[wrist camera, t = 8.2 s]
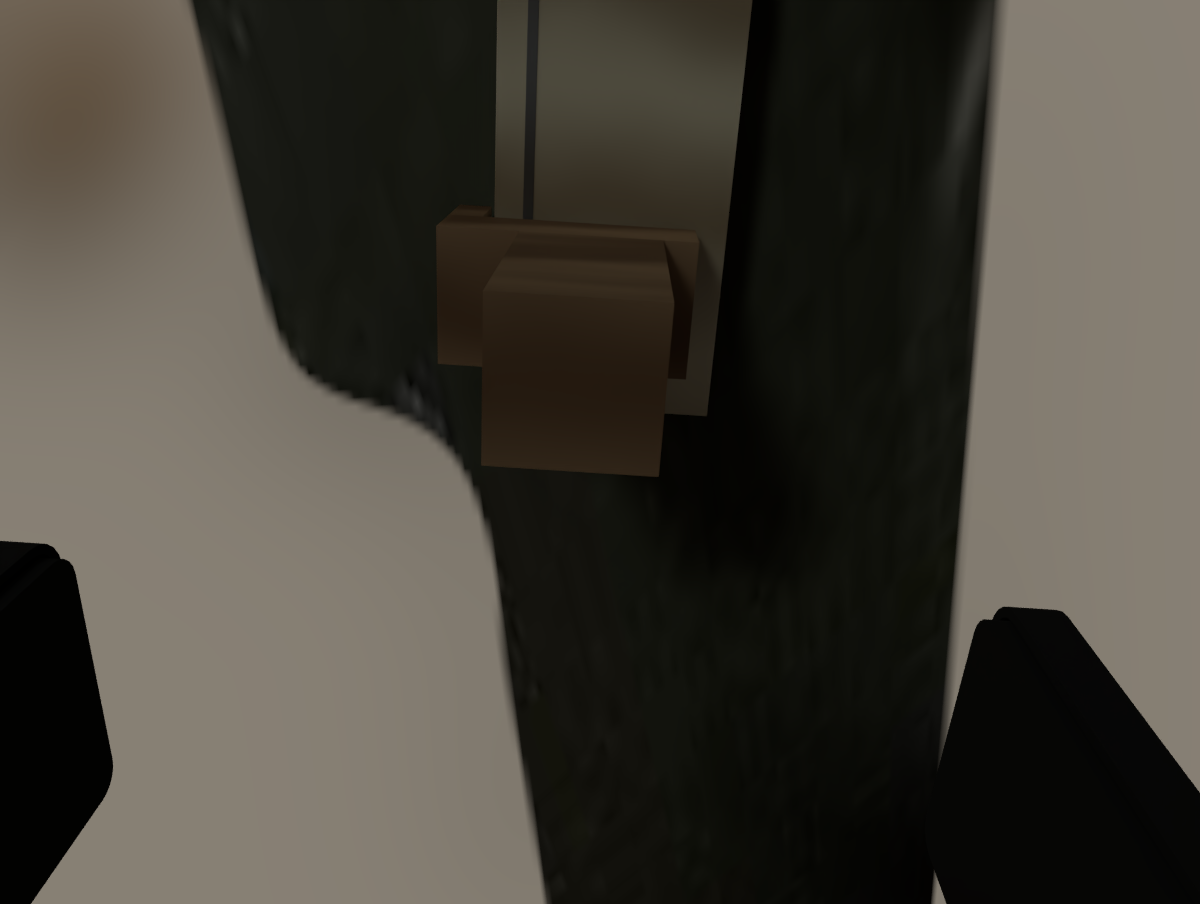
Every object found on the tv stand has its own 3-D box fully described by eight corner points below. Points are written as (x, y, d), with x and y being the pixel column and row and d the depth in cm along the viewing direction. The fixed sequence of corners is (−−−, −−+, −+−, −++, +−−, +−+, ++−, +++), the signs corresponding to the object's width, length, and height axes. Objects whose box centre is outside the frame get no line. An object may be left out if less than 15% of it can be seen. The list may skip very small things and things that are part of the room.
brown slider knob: (459, 204, 30) (372, 283, 20) (690, 219, 30) (722, 305, 20) (459, 327, 31) (379, 459, 21) (679, 341, 31) (703, 479, 21)
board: (507, -80, 27) (498, -91, 25) (751, -65, 27) (760, -74, 25) (500, 382, 32) (492, 402, 31) (702, 395, 32) (706, 416, 31)
